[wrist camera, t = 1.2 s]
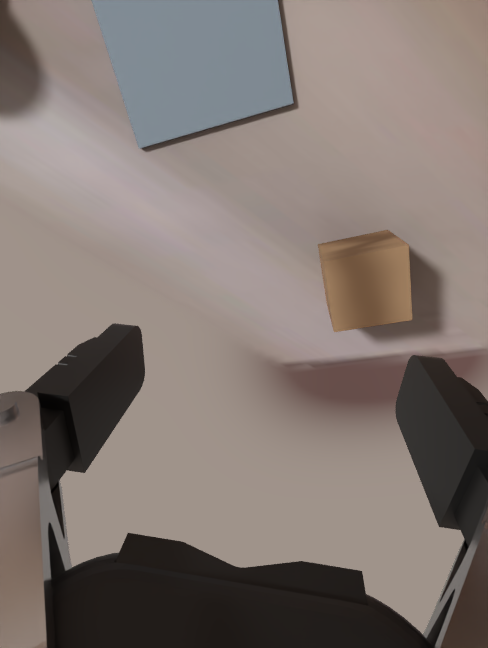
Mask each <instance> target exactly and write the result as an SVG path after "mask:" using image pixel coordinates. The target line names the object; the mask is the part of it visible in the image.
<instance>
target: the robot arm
mask: <svg viewBox="0 0 488 648" xmlns="http://www.w3.org/2000/svg"><path fill="white" fill-rule="evenodd" d="M144 376H145V366H144V355H143V344H142V334H141V330H140V328H139V327H138V326H132V325H122V324H112V325H111V326H110V327H108V329H106V330H105V331H104V332H103V333H102V334H101V335H100V336H99V337H97V338H96V337H95V338H92V339H90V340H88V341H86V342H84V343H81V344H79V345H78V346H77V347H75V348H74V349H73V350H72V351H71V352H70V353H69V354H68V355H67V357H66V356H65V357H64V358H63V359H62V360H61V361H59V362H58V365H55V366H53V367H52V368H51V369H50V370H49V371H48V372H46V373H45V374H44V375H43V376H42V377H41V378H40V379H38V380H37V381H36V382H35V383H34V384H33V385H31V386H30V387H29V388H28V389H27V390H26V391H24V392H23V391H13V392H7V393H2V394H0V648H488V401H487V400H486V399H485V397H484V396H483V395H482V394H481V392H480V391H479V390H478V389H477V388H475V387H474V386H472V385H471V384H470V383H468V382H467V381H465V380H464V379H463V378H460V377H457V376H456V375H455V374H454V372H453V371H452V370H451V368H450V367H449V366H448V364H447V363H446V362H445V360H444V359H442V358H436V357H426V356H416V355H413V356H411V357H410V359H409V361H408V364H407V367H406V370H405V374H404V377H403V381H402V384H401V387H400V390H399V394H398V397H397V401H396V418H397V422H398V424H399V427H400V429H401V432H402V434H403V437H404V439H405V442H406V445H407V447H408V450H409V452H410V454H411V457H412V460H413V462H414V465H415V467H416V470H417V472H418V475H419V477H420V480H421V482H422V485H423V487H424V490H425V493H426V495H427V498H428V500H429V503H430V505H431V508H432V510H433V513H434V515H435V518H436V520H437V523H438V525H439V527H444V528H451V529H457V530H461V532H462V534H463V536H464V541H463V543H462V545H461V547H460V549H459V551H458V554H457V556H456V558H455V561H454V563H453V566H452V568H451V571H450V573H449V575H448V578H447V580H446V583H445V585H444V588H443V590H442V593H441V595H440V598H439V600H438V602H437V605H436V607H435V609H434V612H433V614H432V616H431V619H430V621H429V623H428V625H427V627H426V629H425V631H424V633H423V634H422V633H421V632H420V631H418V630H417V629H416V628H415V627H414V626H413V625H412V624H411V623H409V622H408V621H407V620H406V619H405V618H404V617H402V616H401V615H400V614H398V613H397V612H395V611H394V610H393V609H391V608H390V607H388V606H387V605H385V604H383V603H382V602H380V601H378V600H377V599H375V598H373V597H371V596H369V595H367V594H366V593H365V587H364V581H363V575H362V571H358V570H352V569H346V568H340V567H333V566H328V565H322V564H315V563H309V562H303V561H299V562H291V563H282V564H274V565H265V566H257V567H248V568H239V567H235V566H233V565H230V564H228V563H226V562H224V561H222V560H220V559H218V558H216V557H214V556H212V555H209V554H207V553H205V552H203V551H201V550H199V549H197V548H195V547H192V546H190V545H188V544H186V543H184V542H181V541H175V540H168V539H162V538H156V537H150V536H144V535H138V534H131V533H128V534H127V537H126V539H125V541H124V543H123V545H122V548H121V550H120V552H119V553H112V554H108V555H105V556H100V557H96V558H94V559H91V560H88V561H86V562H83V563H81V564H78V565H76V566H74V567H72V564H71V559H70V554H69V546H68V537H67V529H66V520H65V512H64V504H63V495H62V487H61V483H60V478H61V477H62V476H63V474H64V473H65V472H66V470H69V471H75V472H83V473H85V472H86V470H87V469H88V467H89V466H90V464H91V463H92V461H93V460H94V458H95V457H96V455H97V454H98V452H99V450H100V449H101V448H102V446H103V445H104V443H105V442H106V440H107V439H108V437H109V436H110V434H111V433H112V431H113V430H114V428H115V427H116V425H117V424H118V422H119V421H120V419H121V417H122V416H123V415H124V413H125V412H126V410H127V409H128V407H129V406H130V404H131V403H132V401H133V400H134V398H135V396H136V395H137V394H138V392H139V391H140V389H141V387H142V384H143V381H144Z"/></svg>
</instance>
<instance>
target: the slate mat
mask: <svg viewBox="0 0 488 648" xmlns="http://www.w3.org/2000/svg"><path fill="white" fill-rule="evenodd" d="M92 3H93V7H94V10H95V13H96V16H97V19H98V22H99V25H100V28H101V31H102V35H103V38H104V41H105V44H106V47H107V50H108V53H109V56H110V60H111V63H112V66H113V69H114V72H115V75H116V78H117V81H118V85H119V88H120V91H121V94H122V97H123V100H124V103H125V106H126V110H127V113H128V116H129V119H130V122H131V125H132V128H133V131H134V134H135V138H136V141H137V144H138V147H139V148H144V147H148V146H151V145H155V144H158V143H162V142H165V141H168V140H172V139H175V138H179V137H182V136H186V135H189V134H192V133H196V132H199V131H203V130H206V129H210V128H213V127H216V126H220V125H223V124H227V123H230V122H234V121H237V120H240V119H244V118H247V117H251V116H254V115H258V114H261V113H264V112H268V111H271V110H275V109H278V108H282V107H285V106H288V105H292V104H293V97H292V90H291V84H290V77H289V70H288V64H287V57H286V51H285V44H284V38H283V31H282V25H281V18H280V12H279V5H278V0H92Z"/></svg>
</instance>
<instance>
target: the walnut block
mask: <svg viewBox="0 0 488 648" xmlns="http://www.w3.org/2000/svg"><path fill="white" fill-rule="evenodd" d="M318 248H319V255H320V261H321V268H322V274H323V281H324V288H325V294H326V301H327V306H328V310H329V314H330V318H331V322H332V326H333V330H334V332H338V331H345V330H351V329H358V328H364V327H370V326H377V325H383V324H390V323H396V322H403V321H409V320H412V304H411V282H410V261H409V245H408V244H407V243H405V242H404V241H403V240H401V239H400V238H398V237H397V236H396V235H394V234H393V233H391V232H390V231H388V230H385V231H380V232H375V233H370V234H365V235H361V236H356V237H351V238H346V239H342V240H337V241H332V242H327V243H322V244H318Z"/></svg>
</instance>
